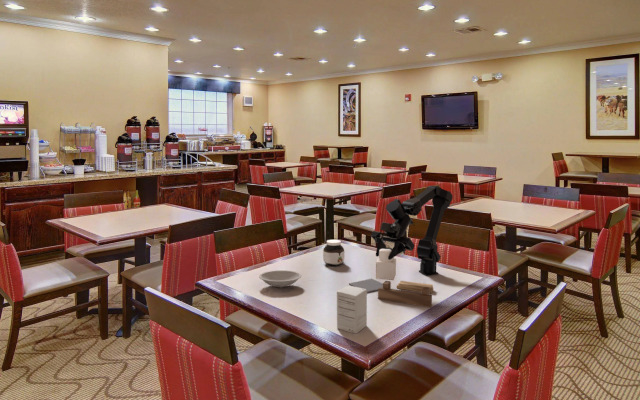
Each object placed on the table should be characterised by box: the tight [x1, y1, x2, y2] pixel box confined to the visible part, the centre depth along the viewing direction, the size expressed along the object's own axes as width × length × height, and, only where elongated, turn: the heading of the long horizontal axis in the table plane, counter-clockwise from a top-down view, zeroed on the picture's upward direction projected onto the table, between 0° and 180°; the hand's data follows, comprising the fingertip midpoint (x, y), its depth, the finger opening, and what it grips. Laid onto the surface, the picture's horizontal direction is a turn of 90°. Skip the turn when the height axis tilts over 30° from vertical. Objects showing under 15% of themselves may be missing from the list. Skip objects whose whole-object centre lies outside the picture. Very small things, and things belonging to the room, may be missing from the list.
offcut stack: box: [396, 280, 434, 294], centre depth 175 cm, size 4×14×2 cm, turn 63°
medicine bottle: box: [375, 246, 397, 281], centre depth 174 cm, size 7×7×12 cm
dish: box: [258, 270, 302, 288], centre depth 178 cm, size 18×14×5 cm
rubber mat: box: [348, 278, 384, 294], centre depth 179 cm, size 12×12×1 cm
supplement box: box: [336, 284, 368, 334], centre depth 139 cm, size 7×7×13 cm
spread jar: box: [322, 239, 345, 267], centre depth 212 cm, size 12×11×12 cm
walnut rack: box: [377, 280, 433, 308], centre depth 162 cm, size 4×20×6 cm, turn 63°
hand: (382, 257), depth 172 cm, fingers closed on medicine bottle, 6 cm apart
